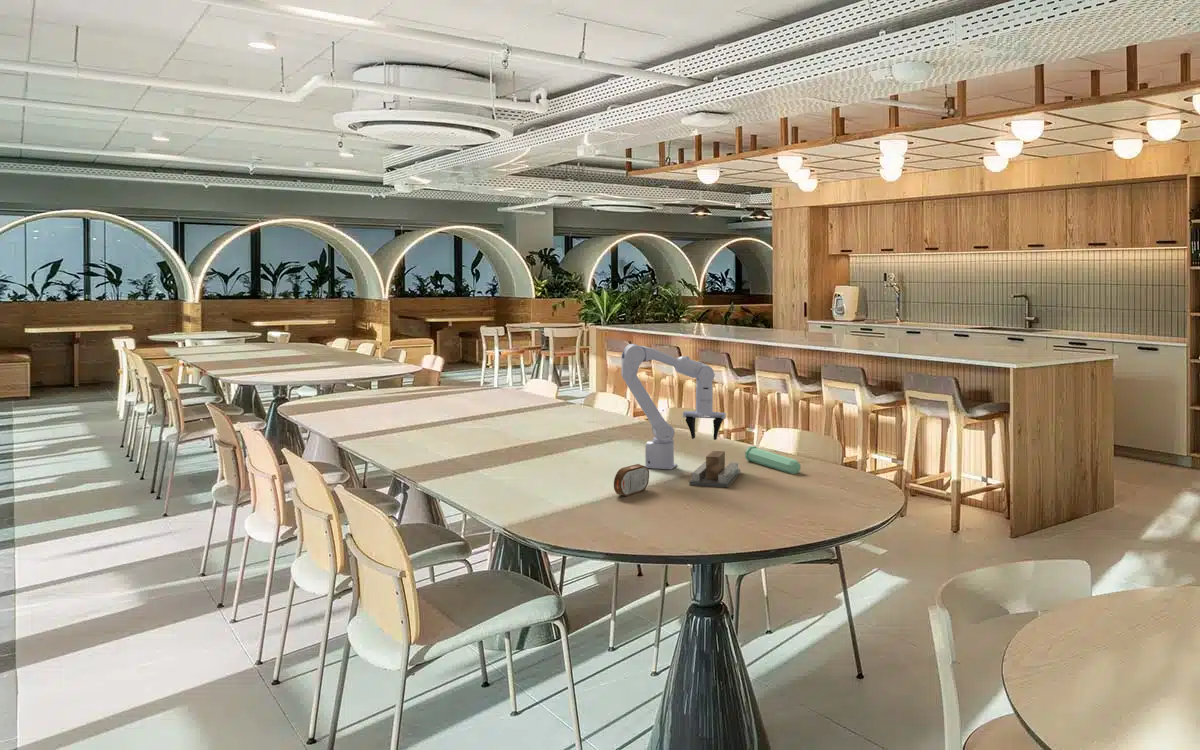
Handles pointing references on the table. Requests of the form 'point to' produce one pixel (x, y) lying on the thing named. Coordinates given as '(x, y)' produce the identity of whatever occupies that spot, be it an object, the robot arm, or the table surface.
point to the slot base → (722, 481)
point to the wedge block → (715, 464)
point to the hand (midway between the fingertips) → (704, 438)
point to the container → (772, 460)
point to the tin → (631, 480)
